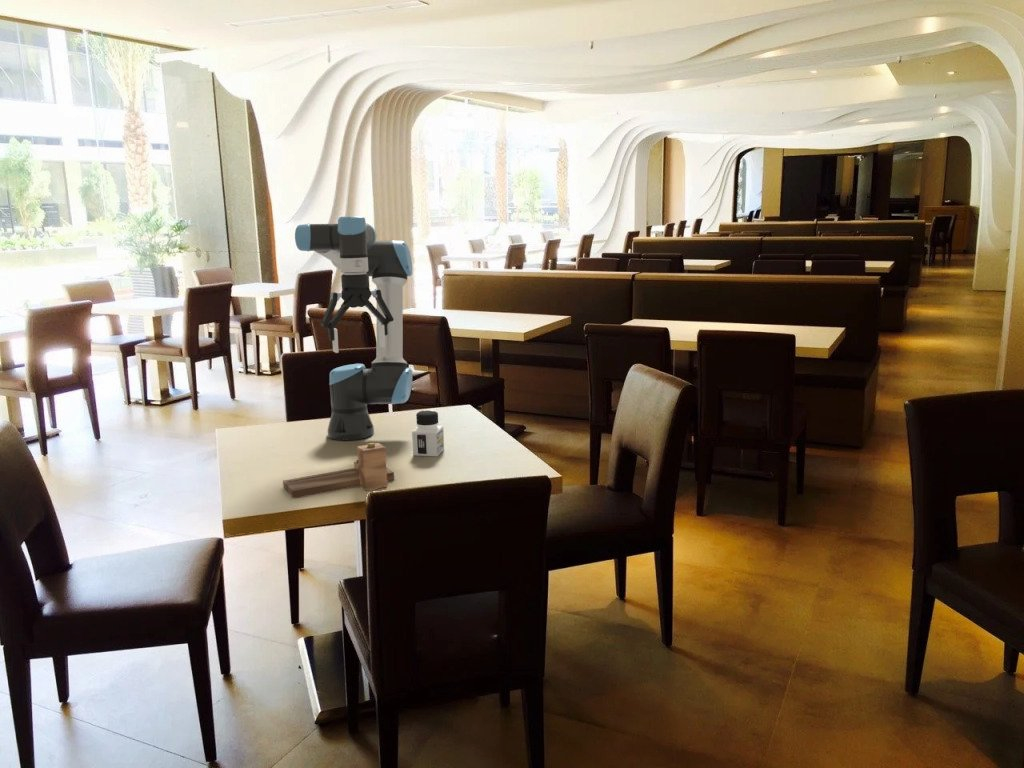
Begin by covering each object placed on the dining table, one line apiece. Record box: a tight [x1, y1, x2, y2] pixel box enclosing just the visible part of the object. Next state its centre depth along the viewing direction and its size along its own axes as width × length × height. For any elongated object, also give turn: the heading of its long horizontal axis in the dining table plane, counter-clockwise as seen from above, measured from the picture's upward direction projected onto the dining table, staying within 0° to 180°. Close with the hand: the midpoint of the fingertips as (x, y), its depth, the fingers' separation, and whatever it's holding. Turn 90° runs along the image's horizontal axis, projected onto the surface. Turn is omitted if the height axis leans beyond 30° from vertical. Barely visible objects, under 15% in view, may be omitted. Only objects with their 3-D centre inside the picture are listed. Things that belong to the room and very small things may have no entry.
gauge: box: [353, 442, 388, 491], centre depth 223 cm, size 14×6×12 cm, turn 29°
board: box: [282, 466, 395, 499], centre depth 224 cm, size 10×28×2 cm, turn 119°
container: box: [411, 409, 445, 457], centre depth 249 cm, size 8×8×13 cm
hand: (359, 349), depth 230 cm, fingers open, 13 cm apart
